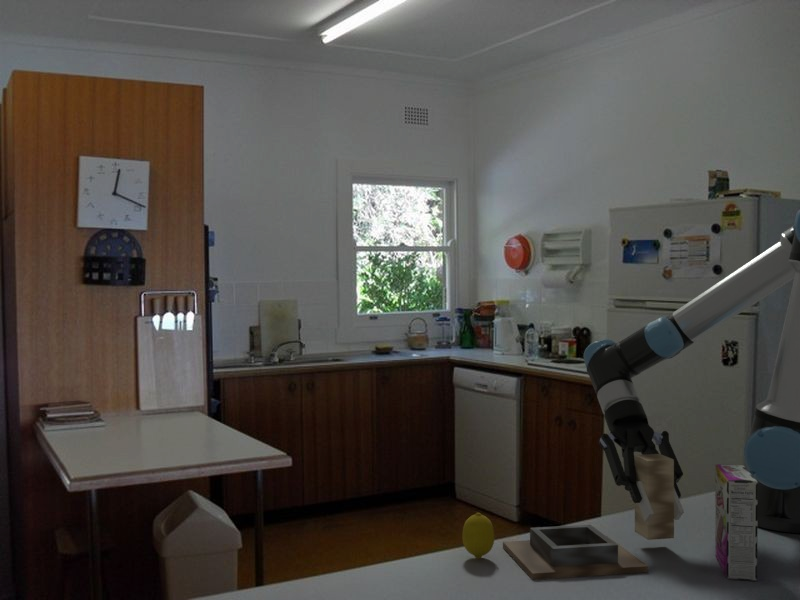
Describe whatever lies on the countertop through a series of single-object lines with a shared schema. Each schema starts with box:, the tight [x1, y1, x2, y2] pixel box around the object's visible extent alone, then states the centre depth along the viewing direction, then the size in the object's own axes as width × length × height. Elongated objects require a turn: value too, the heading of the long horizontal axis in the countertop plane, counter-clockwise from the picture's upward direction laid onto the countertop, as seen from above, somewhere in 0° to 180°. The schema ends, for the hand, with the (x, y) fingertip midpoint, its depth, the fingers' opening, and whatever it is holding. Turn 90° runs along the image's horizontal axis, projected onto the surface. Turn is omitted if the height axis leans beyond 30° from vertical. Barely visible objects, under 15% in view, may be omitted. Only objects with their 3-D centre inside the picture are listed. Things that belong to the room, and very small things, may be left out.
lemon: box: [461, 512, 495, 560], centre depth 141 cm, size 6×6×8 cm
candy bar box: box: [714, 463, 759, 582], centre depth 136 cm, size 11×5×16 cm, turn 168°
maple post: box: [634, 453, 675, 541], centre depth 146 cm, size 5×5×14 cm
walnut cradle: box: [502, 524, 649, 581], centre depth 141 cm, size 20×16×4 cm
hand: (664, 516), depth 143 cm, fingers closed on maple post, 5 cm apart
